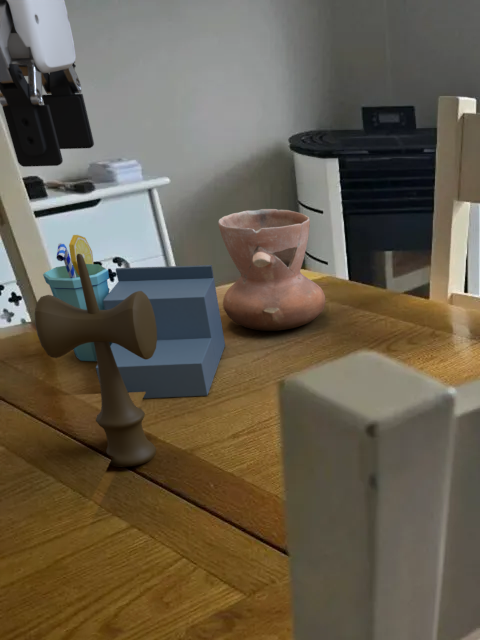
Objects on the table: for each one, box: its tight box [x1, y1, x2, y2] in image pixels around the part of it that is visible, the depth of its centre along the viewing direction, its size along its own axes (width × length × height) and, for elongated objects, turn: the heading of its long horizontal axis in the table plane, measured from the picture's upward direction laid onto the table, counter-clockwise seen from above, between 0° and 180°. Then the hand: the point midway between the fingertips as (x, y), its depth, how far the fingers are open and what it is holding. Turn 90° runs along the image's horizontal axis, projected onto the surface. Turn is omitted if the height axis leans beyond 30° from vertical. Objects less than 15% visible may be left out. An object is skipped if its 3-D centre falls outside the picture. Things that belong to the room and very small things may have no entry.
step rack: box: [95, 264, 226, 400], centre depth 102 cm, size 12×18×10 cm, turn 6°
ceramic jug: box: [217, 208, 326, 332], centre depth 117 cm, size 18×14×14 cm
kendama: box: [34, 254, 157, 468], centre depth 78 cm, size 6×10×20 cm, turn 91°
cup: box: [42, 234, 112, 362], centre depth 105 cm, size 14×8×15 cm, turn 14°
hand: (59, 156), depth 68 cm, fingers open, 9 cm apart
